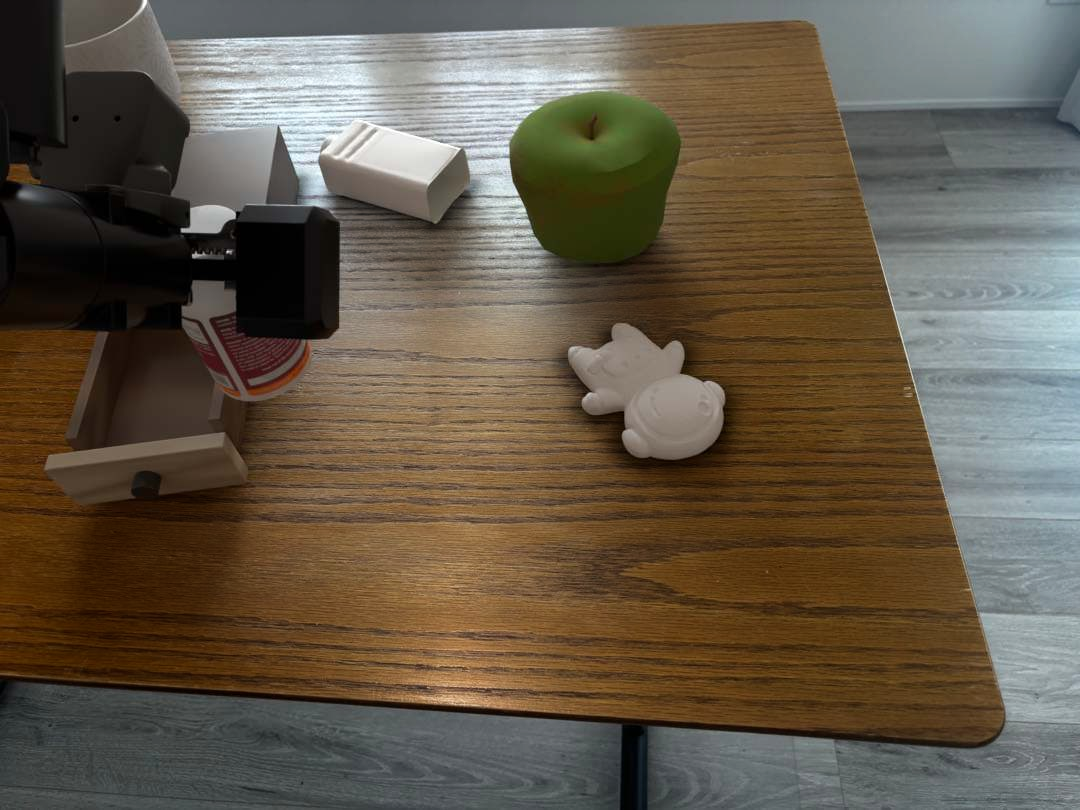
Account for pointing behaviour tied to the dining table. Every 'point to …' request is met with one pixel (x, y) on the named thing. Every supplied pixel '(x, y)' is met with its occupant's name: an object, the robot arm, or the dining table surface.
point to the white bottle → (394, 170)
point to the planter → (118, 41)
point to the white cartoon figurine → (650, 395)
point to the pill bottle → (229, 355)
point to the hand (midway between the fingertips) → (235, 276)
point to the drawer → (149, 422)
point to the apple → (595, 174)
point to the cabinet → (237, 169)
